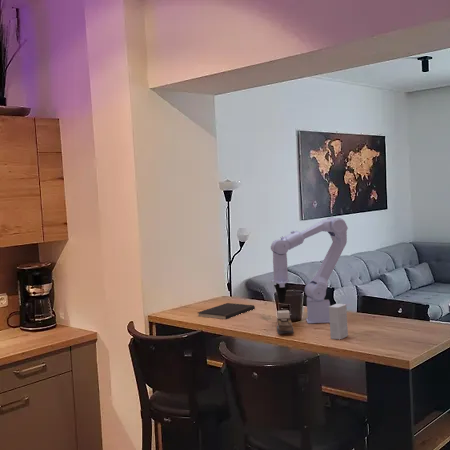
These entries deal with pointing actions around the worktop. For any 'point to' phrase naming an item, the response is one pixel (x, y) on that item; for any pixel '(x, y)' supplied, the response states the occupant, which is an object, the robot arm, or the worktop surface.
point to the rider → (283, 315)
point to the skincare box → (338, 321)
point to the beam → (284, 326)
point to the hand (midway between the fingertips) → (281, 302)
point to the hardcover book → (226, 311)
